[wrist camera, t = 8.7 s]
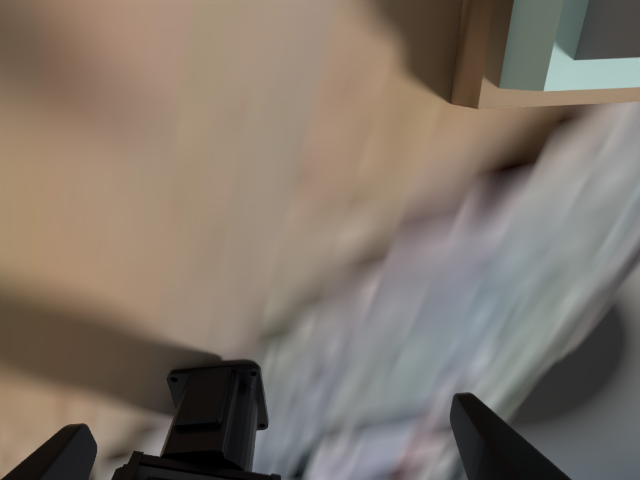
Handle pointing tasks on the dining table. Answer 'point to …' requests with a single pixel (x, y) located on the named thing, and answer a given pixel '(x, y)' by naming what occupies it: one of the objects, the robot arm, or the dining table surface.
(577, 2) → the teal slab
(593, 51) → the charcoal block
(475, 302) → the dining table surface
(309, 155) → the dining table surface
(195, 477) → the robot arm
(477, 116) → the dining table surface
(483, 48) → the tan flat block
